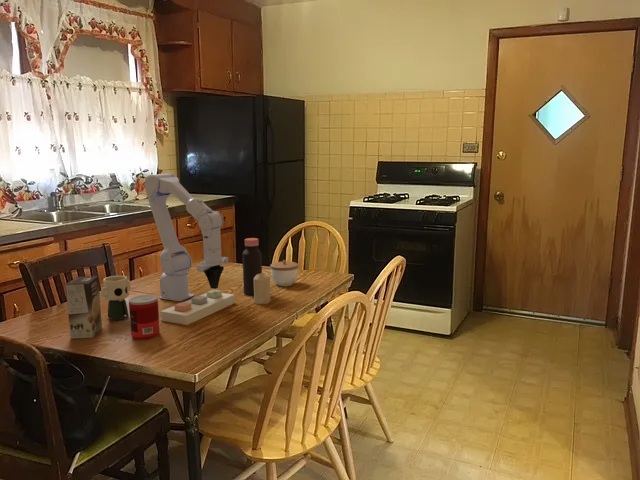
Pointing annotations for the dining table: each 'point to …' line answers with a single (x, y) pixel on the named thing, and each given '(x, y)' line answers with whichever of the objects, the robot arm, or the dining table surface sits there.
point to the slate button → (199, 300)
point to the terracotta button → (182, 307)
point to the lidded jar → (284, 272)
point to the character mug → (116, 295)
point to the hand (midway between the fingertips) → (214, 288)
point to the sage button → (214, 294)
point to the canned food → (144, 317)
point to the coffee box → (84, 307)
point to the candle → (261, 289)
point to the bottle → (251, 264)
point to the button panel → (197, 310)
